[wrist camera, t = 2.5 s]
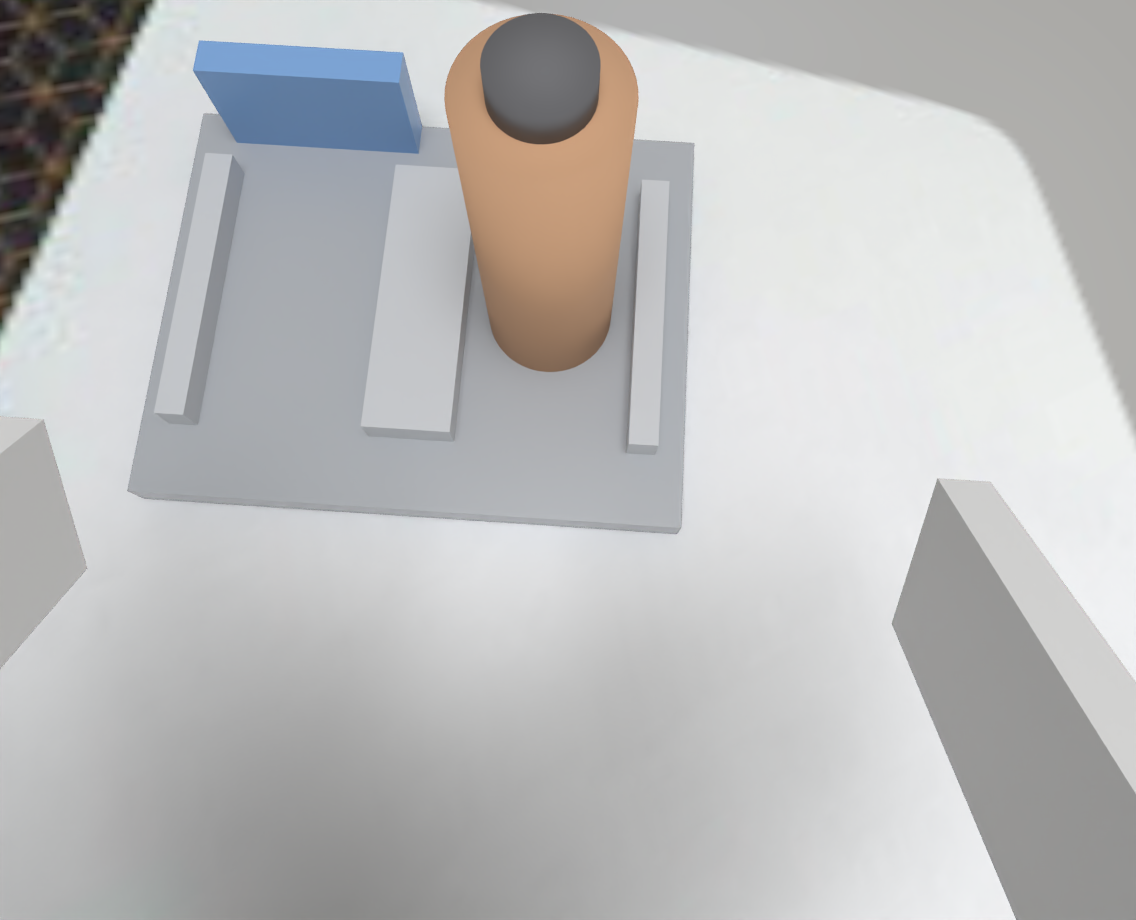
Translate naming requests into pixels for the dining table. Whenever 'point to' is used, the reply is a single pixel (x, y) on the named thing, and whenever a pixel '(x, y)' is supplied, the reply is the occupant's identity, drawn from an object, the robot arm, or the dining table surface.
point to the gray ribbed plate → (395, 321)
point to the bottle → (544, 179)
